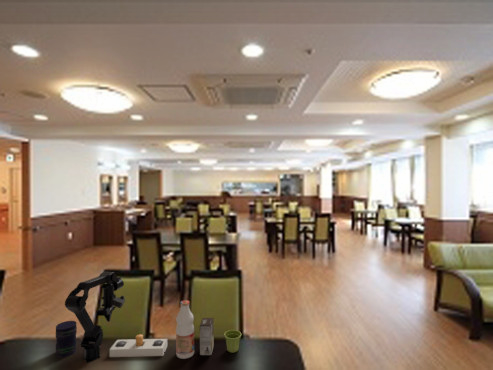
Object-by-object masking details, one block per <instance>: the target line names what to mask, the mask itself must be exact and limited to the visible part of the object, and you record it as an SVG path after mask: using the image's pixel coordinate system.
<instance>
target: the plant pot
mask: <svg viewBox="0 0 493 370" xmlns="http://www.w3.org/2000/svg"><path fill="white" fill-rule="evenodd" d="M241 337H242V333H241V331H239V330H236V329H229V330H227V331H225V332H224V338H225V343H226V351H227V352H229V353H236V352H238V351H239V346H240V341H241Z"/></svg>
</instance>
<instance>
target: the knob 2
mask: <svg viewBox="0 0 493 370" xmlns="http://www.w3.org/2000/svg"><path fill="white" fill-rule="evenodd" d="M154 346H162V341H161V340H157V341H155V342H154Z"/></svg>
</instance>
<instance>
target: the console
mask: <svg viewBox="0 0 493 370" xmlns="http://www.w3.org/2000/svg"><path fill="white" fill-rule="evenodd" d="M157 340H161V341H162V346H154V342H155V341H157ZM120 341H125V346H124V347H117V343H118V342H120ZM167 348H168V338H143V345H142V346H136V338H135V339H133V338H132V339H131V338H130V339H116V341H115V342H114V343H113V344H112V345H111V347H110V348H109V358H122V357H123V358H128V357H129V358H131V357H134V358H135V357H137V358H138V357H164V355H165V353H166V350H167ZM164 352H165V353H164Z"/></svg>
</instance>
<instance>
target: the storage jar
mask: <svg viewBox="0 0 493 370" xmlns="http://www.w3.org/2000/svg"><path fill="white" fill-rule="evenodd" d="M77 328H78V327H77V321H75V320H66V321H62V322H60V323H58V324H57V325H55V340H56V342H55V343H56V344H55V356H56V357H58V358H66V357H70V356H72V355H74V354H75V353H76V352H77V350H78V349H77V346H78V341H77V340H78V339H77V332H78V331H77Z"/></svg>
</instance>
